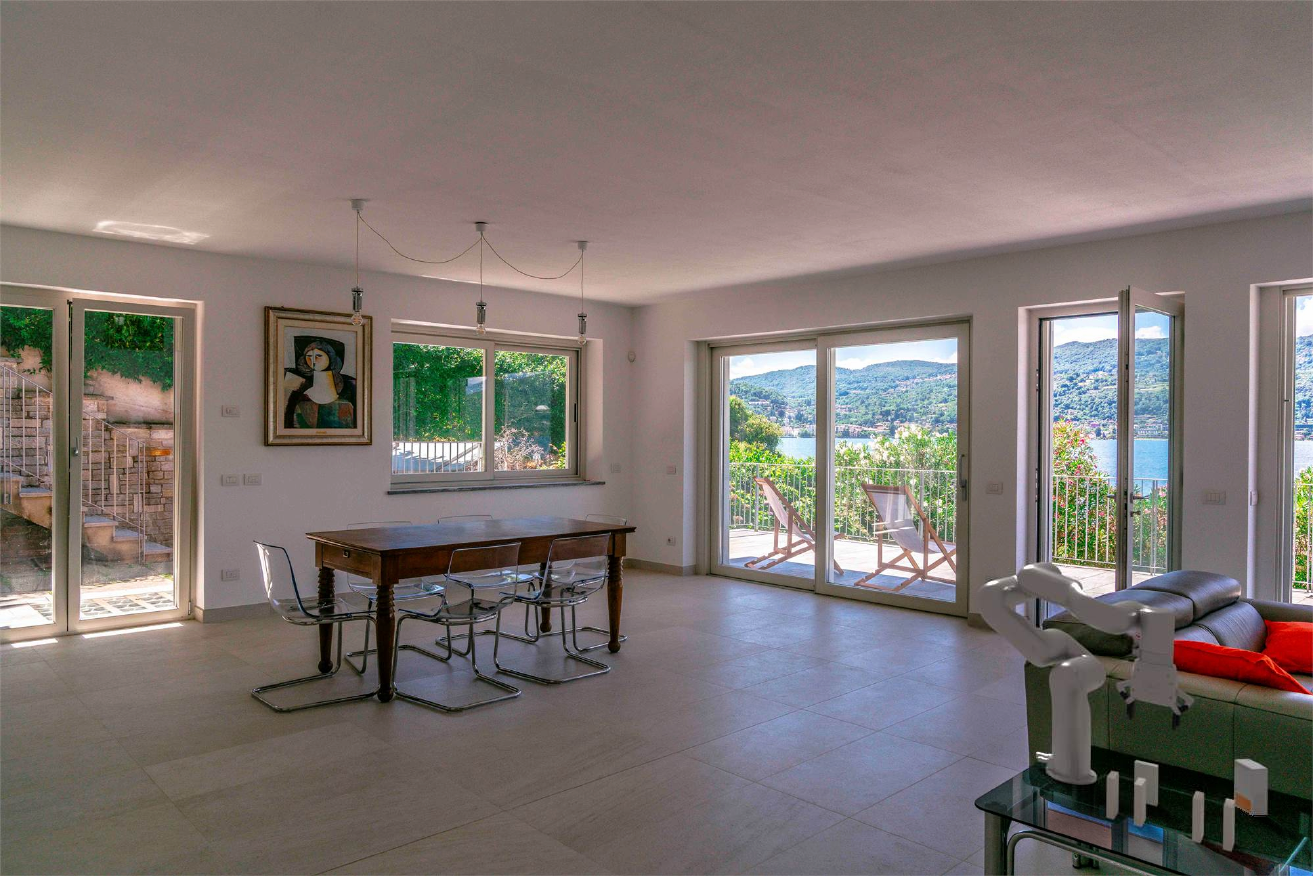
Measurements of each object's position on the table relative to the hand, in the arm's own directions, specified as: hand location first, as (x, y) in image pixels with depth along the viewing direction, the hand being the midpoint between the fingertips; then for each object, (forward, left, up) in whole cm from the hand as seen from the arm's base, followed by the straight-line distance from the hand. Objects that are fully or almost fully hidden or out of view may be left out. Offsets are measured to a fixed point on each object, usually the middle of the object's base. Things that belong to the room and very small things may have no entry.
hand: (1152, 723), depth 215 cm
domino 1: (-6, -14, -21) cm, 25 cm away
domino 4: (+12, -14, -21) cm, 27 cm away
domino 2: (0, -14, -21) cm, 25 cm away
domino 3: (-1, -1, -21) cm, 21 cm away
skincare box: (+20, +10, -21) cm, 31 cm away
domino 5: (+18, -14, -21) cm, 30 cm away
